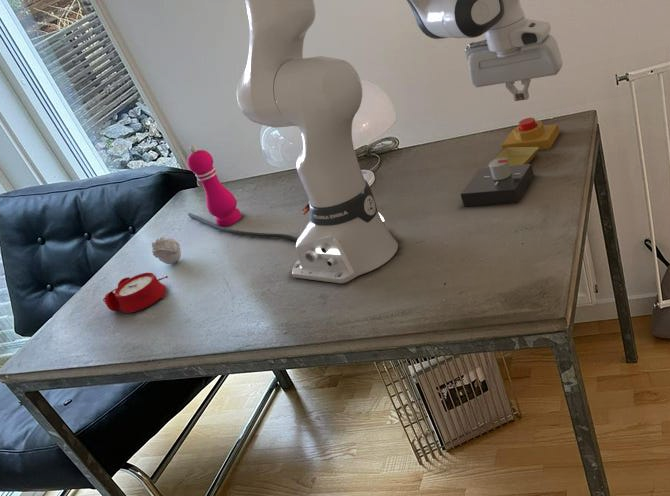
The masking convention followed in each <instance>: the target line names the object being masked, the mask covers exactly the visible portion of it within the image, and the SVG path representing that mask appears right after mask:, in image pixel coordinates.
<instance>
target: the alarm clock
mask: <svg viewBox="0 0 670 496" xmlns="http://www.w3.org/2000/svg"><path fill="white" fill-rule="evenodd" d="M164 279H168V275H166V276H163V277H161V278H157V276H156V275H155V274H154V273H153V272H143V273H139V274H137V275H134V276H132V277H130V276H129V277H123V278H121V279H120V280H119V281H118V283H117V287H116V288H115V289H113V290H110V291H109V292H107V293H106V294H105V295H104V297H103V299H102V302H104V303H105V305H106V307H107V308H108V310H109V311H112V312H117V311H119V310H120V311H121V312H123V313H126V314H128V313H129V314H130V313H135V312H138V311H142V310H144V309H146V308H148V307H149V306H152V305H153V304H155V303H156V302H157V301H159V300H160V299H161V298H162V299H164V298H165V297H166V295H165V294H166V291H167V287H166V286H165V284H163V283H162V282H160V281H162V280H164Z"/></svg>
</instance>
